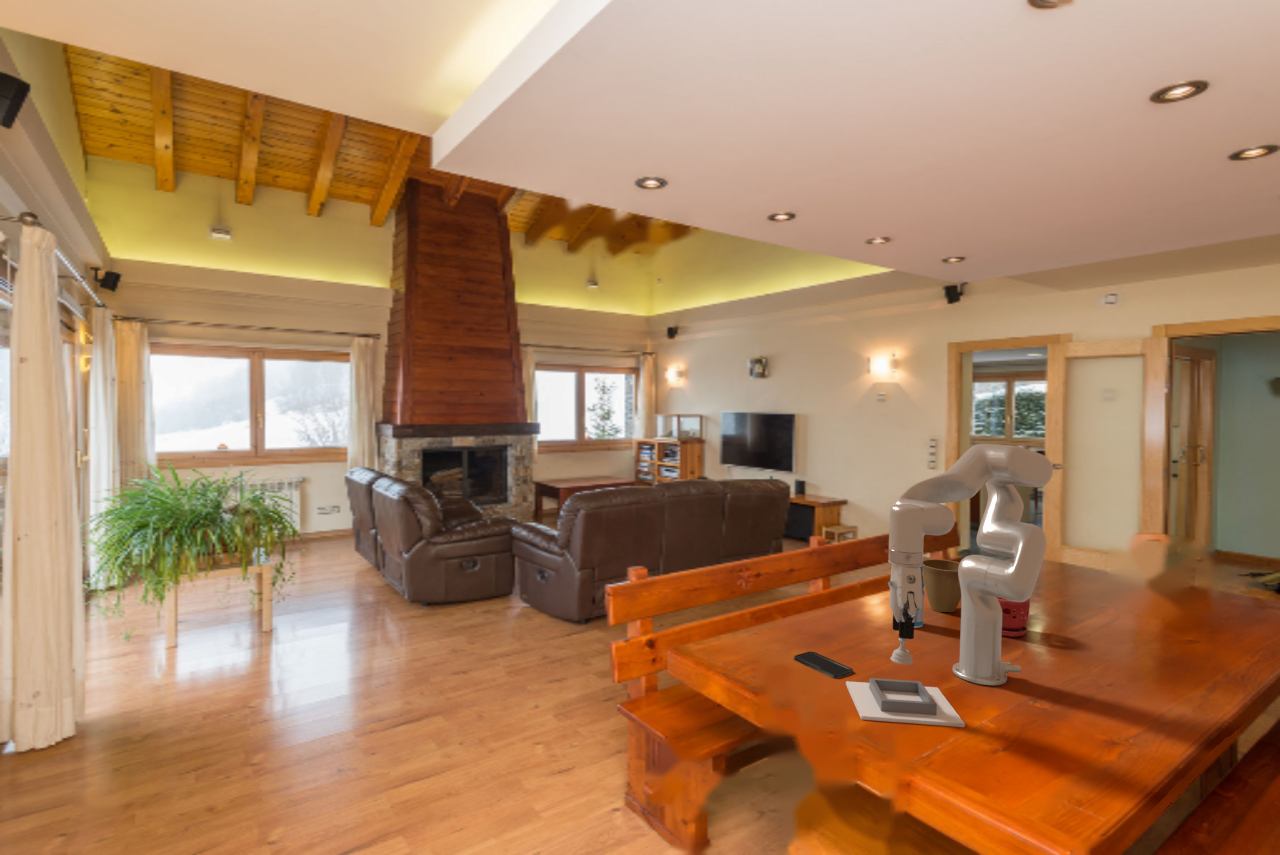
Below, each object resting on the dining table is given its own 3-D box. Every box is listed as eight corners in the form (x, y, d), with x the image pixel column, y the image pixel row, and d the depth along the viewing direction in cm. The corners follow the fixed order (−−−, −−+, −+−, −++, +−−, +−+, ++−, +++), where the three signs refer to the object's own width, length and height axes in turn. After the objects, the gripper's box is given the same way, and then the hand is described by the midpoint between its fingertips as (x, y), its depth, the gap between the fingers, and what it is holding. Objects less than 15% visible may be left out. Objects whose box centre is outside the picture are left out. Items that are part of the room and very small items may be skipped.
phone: (811, 650, 180) (855, 669, 168) (811, 654, 180) (855, 674, 168) (791, 656, 176) (834, 676, 163) (791, 660, 176) (834, 680, 163)
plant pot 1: (910, 606, 224) (911, 561, 223) (940, 601, 230) (941, 557, 229) (946, 619, 210) (948, 572, 210) (977, 614, 216) (978, 567, 216)
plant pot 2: (1015, 625, 206) (1017, 588, 205) (1036, 640, 193) (1038, 601, 192) (973, 623, 207) (974, 587, 206) (991, 638, 194) (993, 599, 193)
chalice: (910, 654, 153) (912, 580, 153) (924, 666, 146) (926, 588, 146) (880, 654, 153) (882, 580, 152) (892, 665, 146) (895, 588, 146)
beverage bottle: (927, 629, 201) (930, 566, 200) (901, 628, 201) (903, 566, 200) (916, 620, 209) (918, 560, 209) (891, 619, 210) (892, 559, 209)
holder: (937, 690, 158) (937, 677, 158) (964, 727, 140) (965, 712, 140) (845, 684, 160) (846, 671, 160) (861, 719, 143) (861, 705, 142)
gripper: (934, 567, 140) (931, 648, 141) (911, 550, 157) (909, 623, 157) (898, 565, 141) (896, 646, 141) (880, 548, 158) (877, 621, 158)
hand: (902, 633), depth 149 cm, fingers closed on chalice, 4 cm apart
